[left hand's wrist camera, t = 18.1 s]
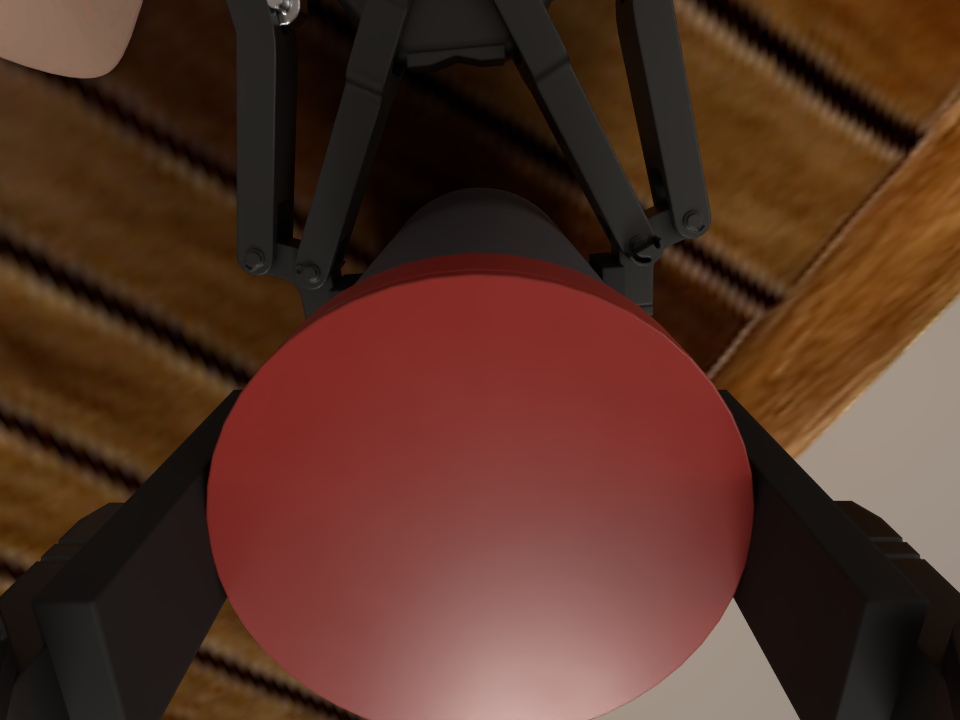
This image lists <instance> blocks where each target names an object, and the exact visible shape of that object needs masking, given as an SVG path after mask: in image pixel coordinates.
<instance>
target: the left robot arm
mask: <svg viewBox="0 0 960 720" xmlns="http://www.w3.org/2000/svg"><path fill="white" fill-rule="evenodd" d="M241 392H242V390H233V391H232V392H231V393H230V394H229V395H228V397H227V398H226V399H225V400H224V401H223V402H222V403H221V404H220V405H219V406H218V407H217V408H216V409H215V410H214V411H213V412H212V413H211V414H210V415H209V416H208V417H207V418H206V419H205V420H204V421H203V422H202V424H201V425H200V426H199V427H198V428H197V429H196V430H195V431H194V432H193V433H192V434H191V435H190V436H189V437H188V438H187V439H186V440H185V441H184V442H183V443H182V444H181V445H180V446H179V447H178V448H177V449H176V451H175V452H174V453H173V454H172V455H171V456H170V457H169V458H168V459H167V460H166V461H165V462H164V463H163V464H162V465H161V466H160V467H159V468H158V469H157V470H156V471H155V472H154V473H153V474H152V475H151V476H150V478H149V479H148V480H147V481H146V482H145V483H144V484H143V485H142V486H141V487H140V488H139V489H138V490H137V491H136V492H135V493H134V494H133V495H132V496H131V497H130V498H129V499H128V500H127V501H126V502H125V503H108V504H106V505H105V506H103V507H101V508H100V509H98V510H96V511H94V512H93V513H91V514H89V515H88V516H86V517H84V518H82V519H81V520H79V521H78V522H77V523H76V524H75V525H74V526H73V527H72V528H71V529H70V530H69V531H68V532H67V533H66V534H65V535H64V536H63V537H62V538H61V539H59V543H58V544H54V545H53V546H52V547H51V548H50V549H49V550H48V551H47V552H46V553H45V554H44V555H43V556H42V557H41V561H37V562H36V563H35V564H34V565H33V566H31V567H30V568H29V569H28V570H27V571H26V572H25V573H24V574H23V575H22V576H21V577H20V578H19V579H18V580H17V581H16V582H15V583H14V584H13V585H12V586H11V587H10V588H9V589H8V590H7V591H6V592H4V593H3V594H2V595H1V596H0V720H160V719H161V717H162V715H163V714H164V712H165V710H166V708H167V706H168V704H169V703H170V701H171V699H172V697H173V695H174V693H175V692H176V690H177V688H178V686H179V684H180V682H181V681H182V679H183V677H184V675H185V673H186V671H187V670H188V668H189V666H190V664H191V662H192V660H193V659H194V657H195V655H196V653H197V651H198V649H199V648H200V646H201V644H202V642H203V640H204V638H205V637H206V635H207V633H208V631H209V629H210V628H211V626H212V624H213V622H214V620H215V618H216V617H217V615H218V613H219V611H220V609H221V607H222V606H223V604H224V602H225V600H226V598H227V595H226V592H225V590H224V588H223V586H222V583H221V581H220V579H219V577H218V574H217V570H216V567H215V563H214V559H213V554H212V549H211V544H210V538H209V532H208V526H207V520H206V502H207V482H208V477H209V472H210V466H211V461H212V456H213V452H214V449H215V446H216V444H217V441H218V438H219V435H220V433H221V430H222V427H223V424H224V422H225V420H226V418H227V416H228V415H229V413H230V411H231V409H232V407H233V406H234V404H235V402H236V400H237V398H238V396H239V395H240V393H241ZM718 392H719V393H720V395H721V397H722V398H723V400H724V401H725V403H726V405H727V406H728V408H729V410H730V411H731V413H732V415H733V417H734V420H735V422H736V425H737V427H738V429H739V432H740V434H741V437H742V439H743V441H744V444H745V448H746V452H747V456H748V460H749V464H750V469H751V473H752V481H753V493H754V520H753V528H752V534H751V540H750V546H749V551H748V556H747V561H746V566H745V569H744V571H743V574H742V576H741V579H740V582H739V584H738V587H737V589H736V592H735V594H734V596H733V598H734V599H735V601H736V603H737V605H738V607H739V609H740V610H741V612H742V614H743V616H744V618H745V619H746V621H747V623H748V625H749V627H750V629H751V630H752V632H753V634H754V636H755V638H756V640H757V641H758V643H759V645H760V647H761V649H762V651H763V652H764V654H765V656H766V658H767V660H768V662H769V663H770V665H771V667H772V669H773V671H774V673H775V674H776V676H777V678H778V680H779V682H780V684H781V685H782V687H783V689H784V691H785V693H786V695H787V696H788V698H789V700H790V702H791V704H792V706H793V707H794V709H795V711H796V713H797V715H798V716H799V718H800V720H960V593H959V592H958V591H957V590H956V589H955V588H954V587H953V586H952V585H951V584H950V583H949V582H948V581H947V580H946V579H945V578H943V577H942V576H941V575H940V574H939V573H938V572H937V571H936V570H935V569H934V568H933V567H932V566H931V565H930V564H929V563H928V562H927V561H926V560H925V559H920V555H919V554H918V553H917V552H916V551H915V550H914V549H913V548H912V547H911V546H910V545H909V544H908V543H907V542H903V541H902V537H901V536H900V535H899V534H897V533H896V532H895V531H894V530H893V529H892V528H891V527H890V526H889V525H888V524H887V523H886V522H885V521H884V520H883V519H882V518H880V517H879V516H877V515H875V514H873V513H872V512H870V511H868V510H867V509H865V508H863V507H861V506H860V505H858V504H856V503H854V502H853V501H833V500H832V499H831V498H830V497H829V496H828V495H827V494H826V493H825V492H824V491H823V490H822V489H821V487H820V486H819V485H818V484H817V483H816V482H815V481H814V480H813V479H812V478H811V477H810V476H809V475H808V474H807V473H806V472H805V471H804V470H803V469H802V468H801V467H800V466H799V465H798V464H797V463H796V462H795V460H794V459H793V458H792V457H791V456H790V455H789V454H788V453H787V452H786V451H785V450H784V449H783V448H782V447H781V446H780V445H779V444H778V443H777V442H776V441H775V440H774V439H773V438H772V437H771V436H770V435H769V433H768V432H767V431H766V430H765V429H764V428H763V427H762V426H761V425H760V424H759V423H758V422H757V421H756V420H755V419H754V418H753V417H752V416H751V415H750V414H749V413H748V412H747V411H746V410H745V409H744V408H743V406H742V405H741V404H740V403H739V402H738V401H737V400H736V399H735V398H734V397H733V396H732V395H731V394H730V393H729V392H728V391H727V390H718Z"/></svg>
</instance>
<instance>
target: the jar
mask: <svg viewBox="0 0 960 720" xmlns="http://www.w3.org/2000/svg"><path fill="white" fill-rule="evenodd" d="M469 253H485V254H508V255H515V256H521V257H526V258H532V259H538V260H543V261H547V262H550V263H553V264H557V265H560V266H563V267H566V268H569V269H572V270H575V271H578V272H581V273H583V274H585V275H587V276H589V277H591V278H593V279H595V280H597V281H600V282H602V283H604V282H603V281H602V279H601V278H600V277H599V276H598V275H597V274H596V272H595V271H594V270H593V269H592V268H591V266H590V265H589V264H588V263H587V262H586V260H585V259H584V258H583V257H582V256H581V254H580V253H579V252H578V251H577V250H576V248H575V247H574V246H573V245H572V244H571V242H570V241H569V240H568V239H567V238H566V237H565V235H564V234H563V233H562V232H561V231H560V229H559V228H558V227H557V226H556V225H555V223H554V222H553V221H552V220H551V219H550V218H549V216H548V215H547V214H545V213H544V212H543V211H542V210H541V209H540V208H539V207H537V206H536V205H534V204H533V203H531V202H530V201H528V200H527V199H525V198H522V197H520V196H518V195H516V194H513V193H510V192H507V191H504V190H499V189H494V188H481V187H476V188H465V189H461V190H456V191H452V192H449V193H447V194H444V195H442V196H439V197H437V198H436V199H434V200H432V201H430V202H428V203H427V204H426V205H424V206H423V207H422V208H420V209H419V210H418V211H417V212H416V213H415V214H414V215H413V216H412V217H411V218H410V219H409V220H408V221H407V222H406V223H405V225H404V226H403V227H402V228H401V229H400V231H399V232H398V233H397V234H396V235H395V236H394V238H393V239H392V240H391V241H390V242H389V244H388V245H387V246H386V247H385V248H384V250H383V251H382V252H381V253H380V254H379V256H378V257H377V258H376V259H375V260H374V262H373V263H372V264H371V265H370V266H369V268H368V269H367V270H366V271H365V272H364V274H363V275H362V276H361V277H360V278H359V279H358V281H357V282H356V283H355V284H357V283H359V282H361V281H363V280H365V279H367V278H368V277H370V276H372V275H375V274H378V273H381V272H383V271H386V270H389V269H391V268H394V267H397V266H400V265H402V264H405V263H410V262H415V261H419V260H424V259H428V258H433V257H437V256H446V255H457V254H469ZM355 284H354V285H355ZM604 284H605V283H604Z"/></svg>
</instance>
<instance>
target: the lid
mask: <svg viewBox="0 0 960 720" xmlns="http://www.w3.org/2000/svg"><path fill="white" fill-rule="evenodd" d="M206 520H207V526H208V532H209V538H210V544H211V549H212V554H213V559H214V563H215V567H216V570H217V574H218V577H219V579H220V581H221V583H222V586H223V588H224V590H225V592H226V595H227V597H228V599H229V601H230V603H231V605H232V607H233V608H234V610H235V611H236V613H237V615H238V616H239V618H240V619H241V621H242V623H243V624H244V626H245V627H246V629H247V630H248V631H249V633H250V634H251V635H252V636H253V637H254V639H255V640H256V641H257V642H258V643H259V645H260V646H261V647H262V648H263V650H264V651H265V652H266V653H267V654H268V655H269V656H270V657H271V658H272V659H274V660H275V661H276V662H277V663H278V664H279V665H280V666H281V667H282V668H283V669H284V670H285V671H286V672H287V673H289V674H290V675H291V676H293V677H294V678H295V679H297V680H298V681H299V682H301V683H302V684H303V685H305V686H306V687H307V688H309V689H310V690H311V691H313V692H315V693H317V694H318V695H320V696H322V697H323V698H325V699H327V700H328V701H330V702H332V703H334V704H335V705H337V706H339V707H341V708H344V709H346V710H348V711H350V712H352V713H355V714H357V715H359V716H361V717H363V718H366V719H369V720H591V719H594V718H596V717H599V716H602V715H604V714H606V713H608V712H610V711H612V710H614V709H617V708H619V707H620V706H623V705H624V704H626V703H629V702H631V701H632V700H634V699H636V698H637V697H639V696H640V695H642V694H643V693H645V692H647V691H648V690H650V689H651V688H653V687H654V686H656V685H658V684H659V683H660V682H661V681H662V680H664V679H665V678H666V677H667V676H669V675H670V674H671V673H672V672H674V671H675V670H676V669H677V668H678V667H680V666H681V665H682V664H683V663H684V662H685V661H686V660H687V659H688V658H689V657H690V656H691V655H692V654H693V653H694V652H695V651H696V650H697V649H698V648H699V646H701V644H702V643H703V642H704V641H705V639H706V638H707V637H708V635H709V634H710V633H711V631H712V630H713V629H714V627H715V626H716V625H717V623H718V622H719V621H720V619H721V617H722V616H723V614H724V612H725V610H726V608H727V607H728V605H729V603H730V601H731V600H732V598H733V596H734V594H735V592H736V589H737V587H738V584H739V582H740V579H741V576H742V574H743V571H744V569H745V566H746V561H747V556H748V551H749V546H750V540H751V534H752V528H753V520H754V493H753V481H752V473H751V469H750V464H749V460H748V456H747V452H746V448H745V444H744V441H743V439H742V437H741V434H740V432H739V429H738V427H737V425H736V422H735V420H734V417H733V415H732V413H731V411H730V410H729V408H728V406H727V405H726V403H725V401H724V400H723V398H722V397H721V395H720V393H719V392H718V390H717V388H716V387H715V385H714V384H713V383H712V381H711V380H710V379H709V378H708V377H707V375H706V374H705V373H704V372H703V371H702V370H701V368H700V367H699V366H698V365H697V364H696V362H695V361H694V360H693V359H692V358H691V357H690V356H689V354H688V353H687V352H686V351H685V350H684V349H683V348H682V347H681V346H680V345H679V344H678V343H677V342H676V341H675V340H674V339H673V338H672V337H671V335H670V334H669V333H668V332H667V331H666V330H665V329H664V328H663V327H662V326H661V325H660V324H659V323H658V322H656V321H655V320H654V319H653V318H652V317H651V316H650V315H649V314H647V313H646V312H645V311H644V310H643V309H642V308H641V307H639V306H638V305H637V304H636V303H634V302H633V301H631V300H630V299H628V298H627V297H625V296H624V295H622V294H620V293H619V292H617V291H616V290H614V289H613V288H611V287H610V286H608V285H606V284H604V283H602V282H600V281H597V280H595V279H593V278H591V277H589V276H587V275H585V274H583V273H581V272H578V271H575V270H572V269H569V268H566V267H563V266H560V265H557V264H553V263H550V262H547V261H543V260H538V259H532V258H526V257H521V256H515V255H508V254H485V253H469V254H457V255H446V256H437V257H433V258H428V259H424V260H419V261H415V262H410V263H405V264H402V265H400V266H397V267H394V268H391V269H389V270H386V271H383V272H381V273H378V274H375V275H372V276H370V277H368V278H367V279H365V280H363V281H361V282H359V283H357V284H355V285H353V286H351V287H350V288H348V289H346V290H344V291H342V292H341V293H339V294H338V295H336V296H335V297H334V298H332V299H331V300H330V301H328V302H327V303H325V304H324V305H323V306H321V307H320V308H318V309H317V310H316V311H315V312H313V313H312V314H311V315H310V316H309V317H308V318H307V319H306V320H305V321H304V322H303V323H302V324H301V325H300V326H299V327H298V328H297V329H296V330H295V331H294V332H293V333H292V334H291V335H290V336H289V337H288V338H287V339H286V340H285V341H284V342H283V343H282V344H281V345H280V346H279V348H278V349H277V350H276V351H275V352H274V353H273V354H272V355H271V356H270V357H269V358H268V359H267V360H266V361H265V362H264V363H263V364H262V366H261V367H260V368H259V369H258V371H257V372H256V373H255V375H254V376H253V377H252V379H251V380H250V381H249V382H248V384H247V385H246V386H245V388H244V389H243V390H242V392H241V393H240V395H239V396H238V398H237V400H236V402H235V404H234V406H233V407H232V409H231V411H230V413H229V415H228V416H227V418H226V420H225V422H224V424H223V427H222V430H221V433H220V435H219V438H218V441H217V444H216V446H215V449H214V452H213V456H212V461H211V466H210V472H209V477H208V482H207V502H206Z"/></svg>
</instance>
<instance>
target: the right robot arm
mask: <svg viewBox="0 0 960 720" xmlns="http://www.w3.org/2000/svg"><path fill="white" fill-rule="evenodd" d="M337 1H338V2H339V3H340V5H341V6H342V7H343V8H344V9H345V11H346V12H347V13H348V14H349V16H350V17H351V18H352V19H353V20H354V22H355V23H356V24H357V25H358V30H357V33H356V37H355V40H354V44H353V47H352V51H351V54H350V58H349V61H348V65H347V69H346V83H345V88H344V92H343V95H342V99H341V102H340V106H339V109H338V113H337V116H336V120H335V123H334V127H333V130H332V134H331V137H330V141H329V144H328V148H327V151H326V155H325V158H324V162H323V165H322V169H321V172H320V176H319V179H318V183H317V186H316V190H315V193H314V197H313V200H312V204H311V207H310V210H309V214H308V217H307V221H306V224H305V228H304V231H303V235H302V238H301V240H299V239H295V238H293V213H294V176H295V139H296V103H297V66H298V64H297V45H296V38H295V32H294V29H295V28H297V27H299V26H301V25H302V24H303V23H304V21H305V19H306V17H307V13H308V10H307V0H226V2H227V5H228V8H229V12H230V15H231V18H232V21H233V24H234V27H235V30H236V45H237V258H238V263H239V264H240V266H241V268H242V269H243V270H244V271H246V272H247V273H248V274H251V275H254V276H257V275H263V274H266V275H270V276H274V277H278V278H282V279H285V280H288V281H290V282H291V283H293V284H294V285H295V286H296V287H297V288H298V290H299V292H300V294H301V297H302V301H303V307H304V312H305V317H306V319H307V318H308V317H309V316H310V315H311V314H312V313H313V312H315V311H316V310H317V309H318V308H320V307H321V306H323V305H324V304H325V303H327V302H328V301H330V300H331V299H332V298H334V297H335V296H336V295H338V294H339V293H341V292H342V291H344V290H346V289H348V288H350V287H351V286H353V285H354V284H355V283H356V282H357V281H358V279H359V278H360V277H361V276H362V275H363V274H364V273H360V274H348V275H344V276H343V277H342V276H341V270H340V269H341V268H342V267H343V265H344V263H345V262H346V261H343V259H344V256H345V253H346V250H347V246H348V243H349V240H350V237H351V234H352V230H353V227H354V224H355V221H356V218H357V214H358V211H359V208H360V205H361V202H362V199H363V195H364V192H365V189H366V186H367V183H368V179H369V176H370V173H371V170H372V167H373V163H374V160H375V157H376V154H377V151H378V147H379V144H380V141H381V138H382V135H383V132H384V128H385V125H386V122H387V119H388V116H389V112H390V109H391V106H392V104H393V101H394V99H395V98H396V95H397V93H398V90H399V87H400V84H401V81H402V78H403V74H404V71H405V69H406V70H410V71H412V72H413V73H424V72H434V71H438V70H440V69H443V68H445V67H448V66H450V65H453V64H455V63H463V64H468V65H474V66H479V67H488V66H498V65H504V62H506V61H508V60H510V59H512V60H513V62H514V63H515V65H516V67H517V69H518V71H519V73H520V75H521V77H522V79H523V80H524V82H525V84H526V85H527V87H528V88H529V89H530V91H531V93H532V95H533V97H534V98H535V100H536V102H537V104H538V106H539V108H540V110H541V112H542V114H543V116H544V118H545V119H546V121H547V123H548V125H549V127H550V129H551V131H552V133H553V135H554V137H555V138H556V140H557V142H558V144H559V146H560V148H561V150H562V152H563V154H564V156H565V157H566V159H567V161H568V163H569V165H570V167H571V169H572V171H573V173H574V175H575V177H576V178H577V180H578V182H579V184H580V186H581V188H582V190H583V192H584V194H585V196H586V197H587V199H588V201H589V203H590V205H591V207H592V209H593V211H594V213H595V215H596V216H597V218H598V220H599V222H600V224H601V226H602V228H603V230H604V232H605V234H606V236H607V237H608V239H609V241H610V243H611V254H610V253H609V252H608V253H596V254H589V261H590V266H591V268H592V269H593V270H594V271H595V272H596V274H597V275H598V276H599V277H600V278H601V279H602V281H603V282H604V283H605V284H606V285H608V286H610V287H611V288H613V289H614V290H616V291H617V292H619V293H620V294H622V295H624V296H625V297H627V298H628V299H630V300H631V301H633V302H634V303H636V304H637V305H638V306H639V307H641V308H642V309H643V310H644V311H645V312H646V313H647V314H649V315H650V316H651V317H652V315H653V305H652V304H653V266H654V263H655V262H656V261H658V260H659V258H660V257H661V255H662V253H663V249H664V248H666V247H668V246H670V245H672V244H674V243H677V242H679V241H681V240H683V239H686V238H689V239H690V238H697V237H699V236H701V235H703V234H704V233H705V232H706V231H707V230H708V228H709V226H710V223H711V213H710V207H709V201H708V196H707V190H706V184H705V179H704V173H703V168H702V162H701V156H700V151H699V145H698V140H697V134H696V128H695V123H694V117H693V112H692V106H691V100H690V95H689V89H688V83H687V78H686V72H685V67H684V61H683V55H682V50H681V44H680V39H679V33H678V27H677V22H676V16H675V10H674V5H673V0H616V21H617V28H618V34H619V39H620V44H621V49H622V54H623V59H624V63H625V68H626V73H627V78H628V83H629V87H630V92H631V97H632V102H633V107H634V111H635V116H636V121H637V126H638V131H639V135H640V140H641V145H642V150H643V155H644V160H645V164H646V169H647V174H648V179H649V184H650V188H651V193H652V198H653V203H654V206H653V207H651V208H649V209H647V210H645V211H643V209H642V207H641V205H640V203H639V201H638V199H637V197H636V195H635V193H634V191H633V189H632V187H631V185H630V183H629V181H628V179H627V177H626V175H625V173H624V171H623V169H622V167H621V165H620V163H619V161H618V159H617V157H616V155H615V153H614V151H613V149H612V147H611V145H610V143H609V141H608V139H607V137H606V135H605V133H604V131H603V129H602V127H601V125H600V123H599V121H598V119H597V117H596V115H595V113H594V111H593V109H592V107H591V104H590V102H589V100H588V98H587V96H586V94H585V92H584V90H583V88H582V86H581V84H580V82H579V80H578V78H577V76H576V74H575V72H574V70H573V68H572V66H571V64H570V61H569V57H568V53H567V51H566V48H565V46H564V44H563V42H562V40H561V38H560V36H559V34H558V32H557V30H556V28H555V26H554V24H553V22H552V20H551V18H550V16H549V14H548V12H547V9H548V7H549V6H550V4H551V2H552V0H337ZM652 318H653V317H652Z"/></svg>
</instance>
